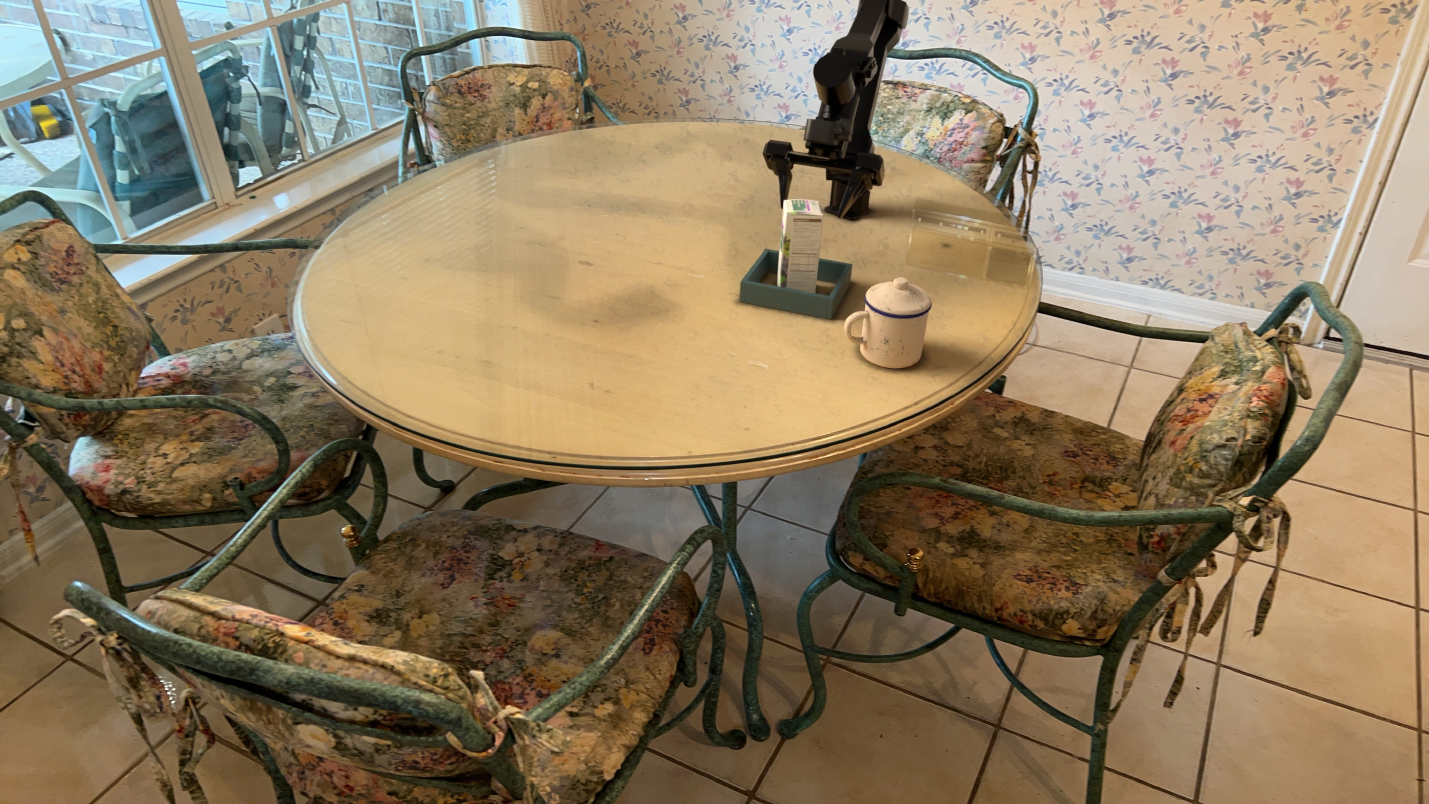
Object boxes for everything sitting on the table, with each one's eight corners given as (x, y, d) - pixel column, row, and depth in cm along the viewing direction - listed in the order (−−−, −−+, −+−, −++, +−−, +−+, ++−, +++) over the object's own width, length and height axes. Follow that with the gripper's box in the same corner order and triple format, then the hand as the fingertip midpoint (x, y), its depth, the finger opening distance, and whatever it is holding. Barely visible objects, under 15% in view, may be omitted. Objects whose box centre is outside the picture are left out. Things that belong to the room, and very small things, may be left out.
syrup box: (776, 283, 145) (781, 198, 137) (812, 284, 145) (820, 198, 137) (778, 301, 140) (784, 213, 132) (816, 301, 140) (824, 214, 132)
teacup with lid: (906, 333, 133) (917, 261, 126) (933, 366, 126) (947, 292, 119) (829, 343, 130) (837, 270, 124) (853, 377, 123) (862, 302, 116)
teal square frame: (764, 267, 150) (765, 248, 148) (850, 283, 146) (852, 263, 143) (739, 301, 140) (740, 281, 138) (830, 319, 136) (833, 299, 134)
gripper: (769, 87, 137) (743, 181, 135) (890, 102, 132) (865, 200, 130) (781, 123, 148) (757, 211, 146) (894, 139, 143) (870, 230, 140)
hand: (810, 213), depth 140 cm, fingers open, 9 cm apart
